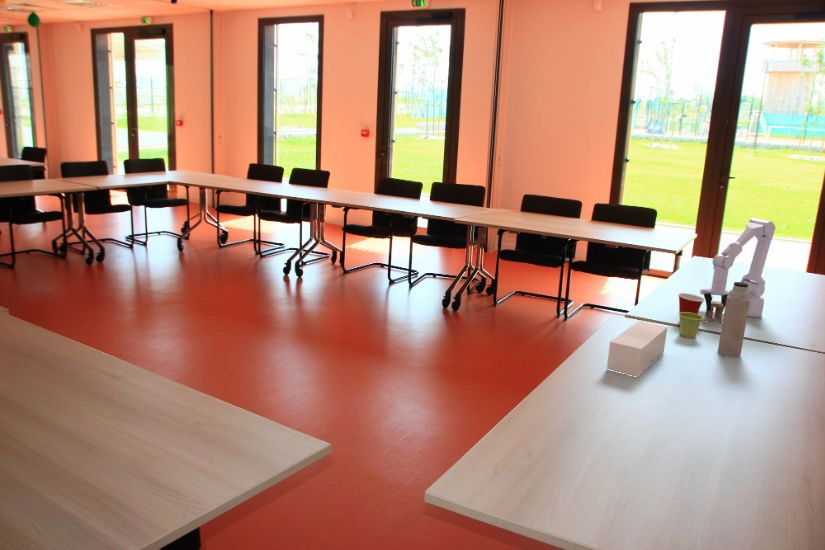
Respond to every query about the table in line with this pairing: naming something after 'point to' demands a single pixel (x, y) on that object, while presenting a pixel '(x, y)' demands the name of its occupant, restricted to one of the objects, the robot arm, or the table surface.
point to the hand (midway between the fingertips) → (714, 310)
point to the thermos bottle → (734, 321)
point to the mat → (713, 319)
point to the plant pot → (689, 324)
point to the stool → (717, 311)
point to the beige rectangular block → (637, 348)
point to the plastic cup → (689, 303)
